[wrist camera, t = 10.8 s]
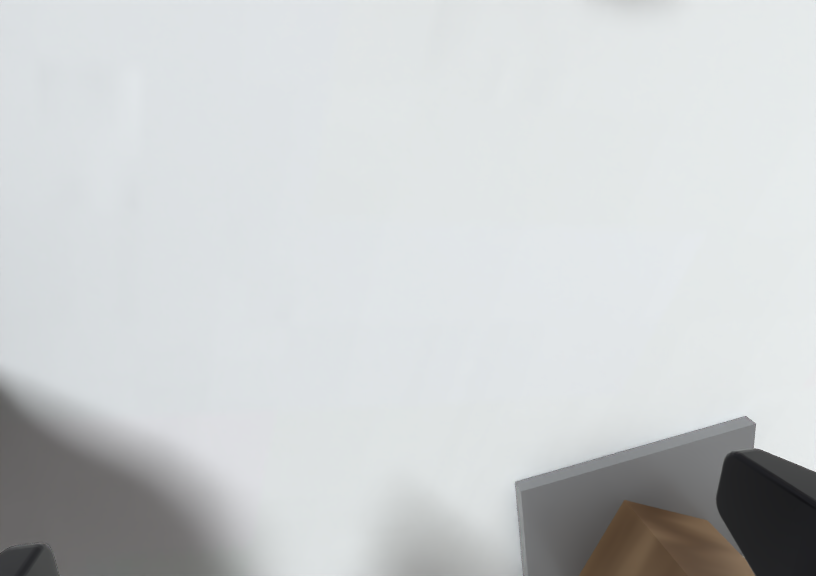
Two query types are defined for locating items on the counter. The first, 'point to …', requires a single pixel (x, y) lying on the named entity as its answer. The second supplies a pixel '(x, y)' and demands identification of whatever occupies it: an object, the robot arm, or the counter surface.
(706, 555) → the block
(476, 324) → the counter surface
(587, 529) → the coaster
